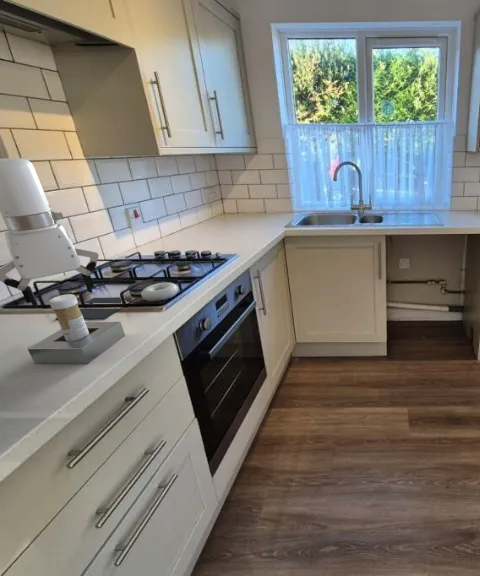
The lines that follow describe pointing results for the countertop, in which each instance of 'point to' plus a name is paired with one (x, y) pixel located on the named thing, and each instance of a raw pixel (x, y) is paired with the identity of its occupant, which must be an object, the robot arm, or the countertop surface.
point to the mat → (101, 313)
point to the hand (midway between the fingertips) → (63, 297)
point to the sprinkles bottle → (69, 317)
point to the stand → (77, 345)
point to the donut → (159, 292)
